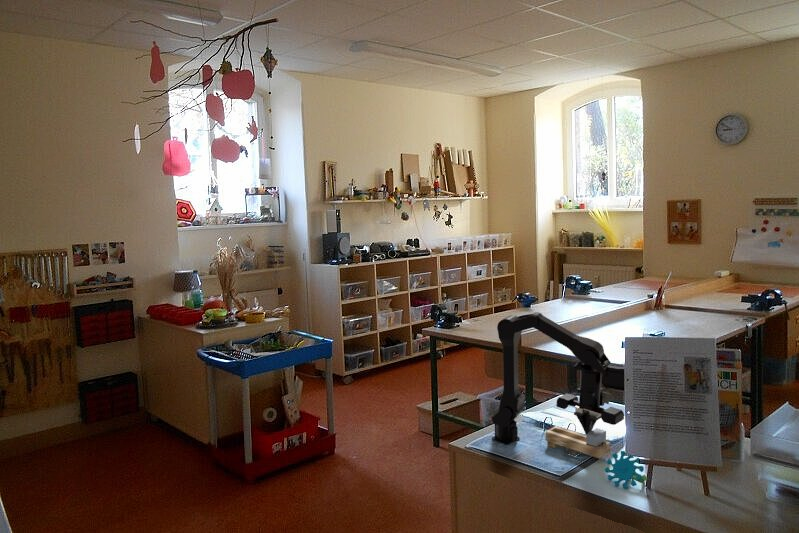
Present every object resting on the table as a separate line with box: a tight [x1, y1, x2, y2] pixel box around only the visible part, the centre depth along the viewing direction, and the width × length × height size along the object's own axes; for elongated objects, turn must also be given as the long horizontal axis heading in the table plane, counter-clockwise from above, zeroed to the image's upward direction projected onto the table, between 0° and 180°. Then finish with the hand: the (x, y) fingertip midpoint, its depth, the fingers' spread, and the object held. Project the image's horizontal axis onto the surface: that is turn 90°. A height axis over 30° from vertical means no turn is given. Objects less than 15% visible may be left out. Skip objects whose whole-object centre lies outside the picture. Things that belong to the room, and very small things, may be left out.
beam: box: [544, 425, 611, 459], centre depth 180 cm, size 18×6×5 cm, turn 43°
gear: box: [604, 450, 648, 489], centre depth 162 cm, size 11×6×10 cm
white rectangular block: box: [585, 427, 607, 446], centre depth 175 cm, size 3×6×4 cm, turn 133°
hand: (588, 436), depth 176 cm, fingers closed
